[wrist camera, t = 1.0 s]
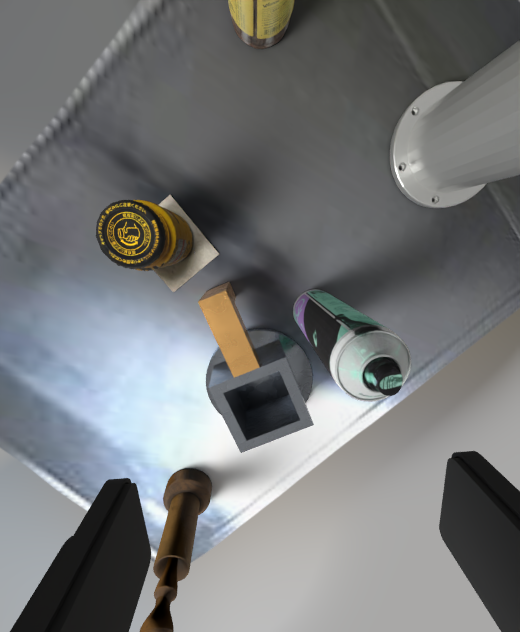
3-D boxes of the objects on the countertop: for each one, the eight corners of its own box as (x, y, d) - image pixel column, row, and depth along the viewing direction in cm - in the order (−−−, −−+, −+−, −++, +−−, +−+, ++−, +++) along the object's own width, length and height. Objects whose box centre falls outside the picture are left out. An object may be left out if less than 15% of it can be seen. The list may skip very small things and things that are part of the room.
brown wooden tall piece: (202, 509, 43) (174, 687, 26) (161, 498, 43) (103, 674, 25) (218, 474, 42) (199, 638, 25) (175, 462, 41) (124, 622, 24)
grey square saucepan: (270, 264, 35) (277, 269, 28) (324, 402, 40) (340, 434, 33) (166, 307, 36) (148, 322, 29) (232, 438, 41) (229, 476, 34)
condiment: (170, 194, 33) (129, 167, 21) (219, 254, 35) (206, 258, 23) (123, 236, 33) (59, 232, 22) (174, 292, 35) (139, 315, 24)
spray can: (284, 305, 36) (329, 375, 17) (320, 280, 36) (409, 323, 16) (307, 338, 38) (374, 439, 18) (342, 314, 37) (450, 392, 18)
